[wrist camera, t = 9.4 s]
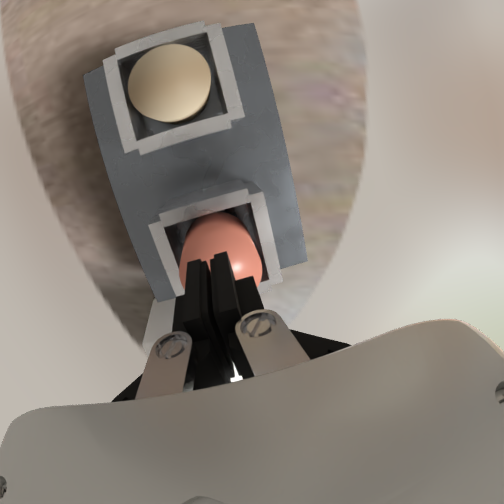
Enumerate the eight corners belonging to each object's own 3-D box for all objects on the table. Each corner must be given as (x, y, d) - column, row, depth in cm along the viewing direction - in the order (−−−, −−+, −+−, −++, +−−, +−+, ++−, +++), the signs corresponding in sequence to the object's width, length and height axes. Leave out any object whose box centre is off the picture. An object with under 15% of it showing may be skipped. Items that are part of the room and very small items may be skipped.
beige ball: (138, 75, 14) (121, 60, 11) (201, 55, 14) (200, 35, 11) (152, 132, 16) (138, 131, 12) (217, 113, 16) (219, 106, 12)
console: (105, 85, 18) (59, 65, 10) (244, 44, 19) (263, 1, 11) (165, 273, 26) (151, 331, 18) (290, 238, 26) (325, 283, 18)
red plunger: (175, 223, 17) (167, 247, 13) (241, 203, 17) (251, 223, 13) (196, 281, 19) (194, 316, 15) (257, 264, 19) (269, 295, 15)
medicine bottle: (172, 350, 29) (166, 442, 18) (152, 297, 26) (130, 392, 15) (235, 340, 30) (252, 433, 19) (223, 284, 27) (237, 380, 16)
